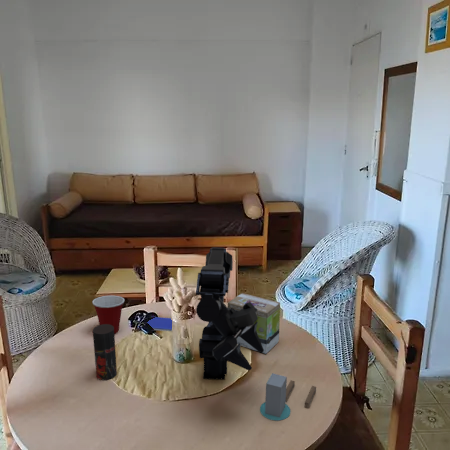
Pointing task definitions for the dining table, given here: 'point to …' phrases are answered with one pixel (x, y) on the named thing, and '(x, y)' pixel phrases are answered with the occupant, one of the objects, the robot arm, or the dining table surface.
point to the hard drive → (161, 324)
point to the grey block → (275, 395)
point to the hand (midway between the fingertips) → (256, 360)
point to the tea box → (260, 319)
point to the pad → (283, 416)
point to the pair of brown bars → (309, 397)
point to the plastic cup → (109, 310)
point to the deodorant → (104, 352)
